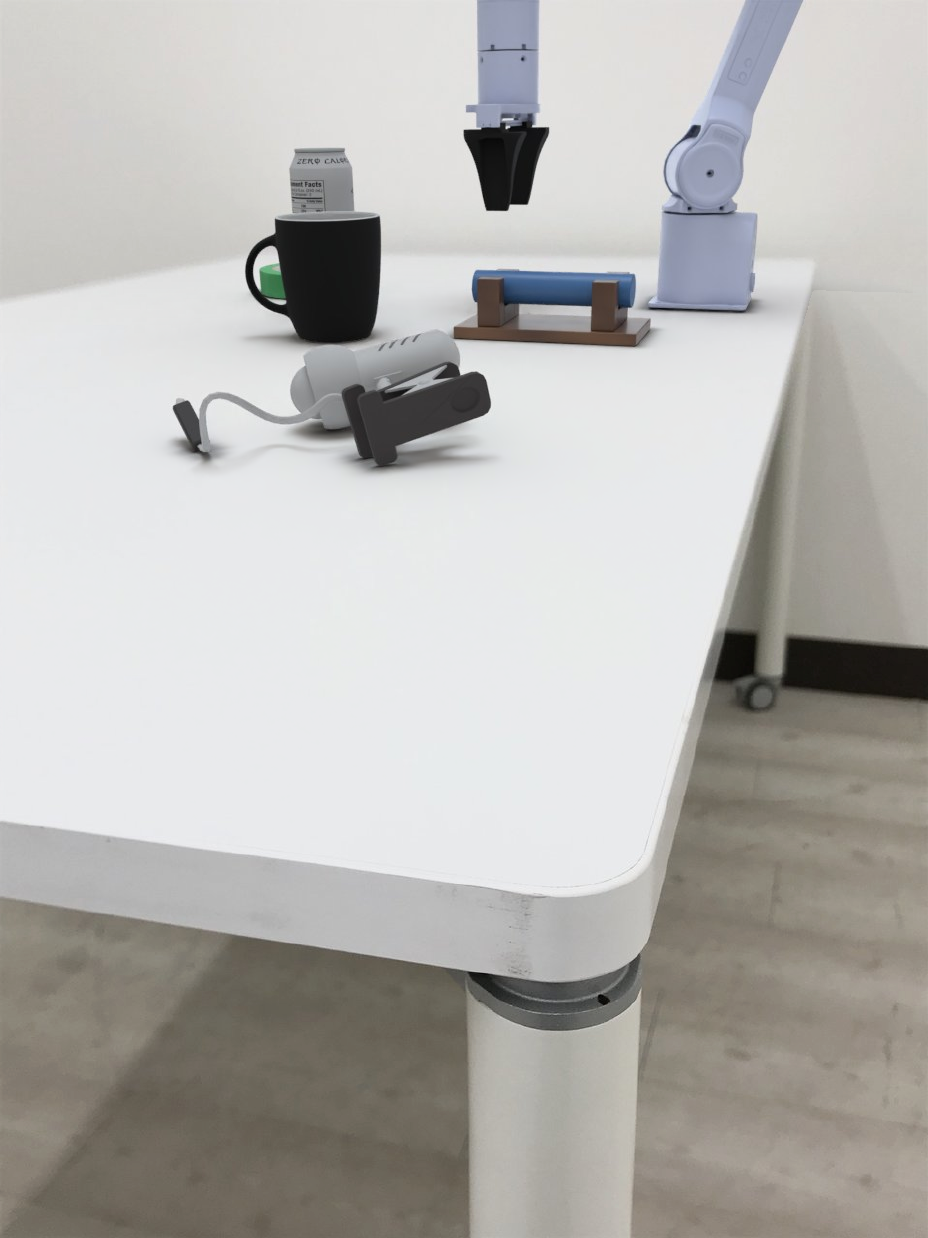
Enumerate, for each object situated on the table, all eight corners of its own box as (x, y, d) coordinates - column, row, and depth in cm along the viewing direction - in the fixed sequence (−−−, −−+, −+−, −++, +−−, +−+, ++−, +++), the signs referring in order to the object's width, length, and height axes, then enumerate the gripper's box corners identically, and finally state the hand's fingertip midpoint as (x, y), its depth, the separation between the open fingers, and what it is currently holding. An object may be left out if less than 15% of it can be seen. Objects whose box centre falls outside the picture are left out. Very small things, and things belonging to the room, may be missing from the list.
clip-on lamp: (193, 528, 62) (502, 440, 62) (151, 424, 58) (479, 332, 59) (196, 452, 72) (463, 376, 72) (161, 358, 68) (441, 281, 69)
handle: (634, 305, 96) (636, 271, 95) (629, 309, 94) (631, 275, 93) (480, 300, 100) (480, 267, 99) (471, 304, 98) (471, 271, 97)
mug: (390, 327, 102) (386, 210, 98) (379, 345, 94) (373, 219, 90) (262, 327, 103) (252, 211, 98) (239, 346, 95) (227, 221, 90)
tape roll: (355, 298, 118) (354, 272, 117) (252, 299, 118) (250, 274, 117) (365, 284, 128) (364, 259, 127) (270, 285, 128) (268, 261, 127)
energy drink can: (370, 310, 111) (362, 147, 105) (316, 316, 108) (305, 149, 102) (341, 302, 116) (332, 146, 109) (289, 308, 113) (277, 148, 106)
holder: (650, 329, 99) (653, 271, 97) (635, 346, 92) (639, 284, 90) (479, 322, 104) (479, 267, 102) (453, 338, 97) (452, 278, 95)
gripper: (488, 56, 110) (489, 201, 116) (442, 49, 98) (445, 213, 103) (557, 54, 108) (554, 202, 114) (520, 47, 96) (519, 213, 101)
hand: (507, 207), depth 108 cm, fingers open, 7 cm apart
